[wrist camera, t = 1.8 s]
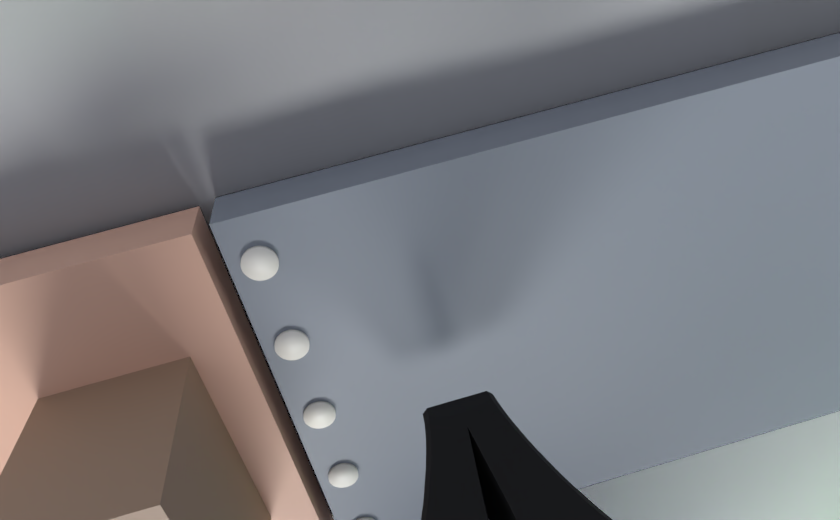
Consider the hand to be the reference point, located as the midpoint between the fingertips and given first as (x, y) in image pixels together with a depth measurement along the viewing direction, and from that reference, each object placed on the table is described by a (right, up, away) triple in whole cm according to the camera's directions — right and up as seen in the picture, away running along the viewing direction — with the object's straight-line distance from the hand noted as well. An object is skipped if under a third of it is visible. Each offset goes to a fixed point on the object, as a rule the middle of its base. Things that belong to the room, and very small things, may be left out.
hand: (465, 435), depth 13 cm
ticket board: (+3, +2, +3) cm, 5 cm away
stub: (-8, -1, +2) cm, 8 cm away
